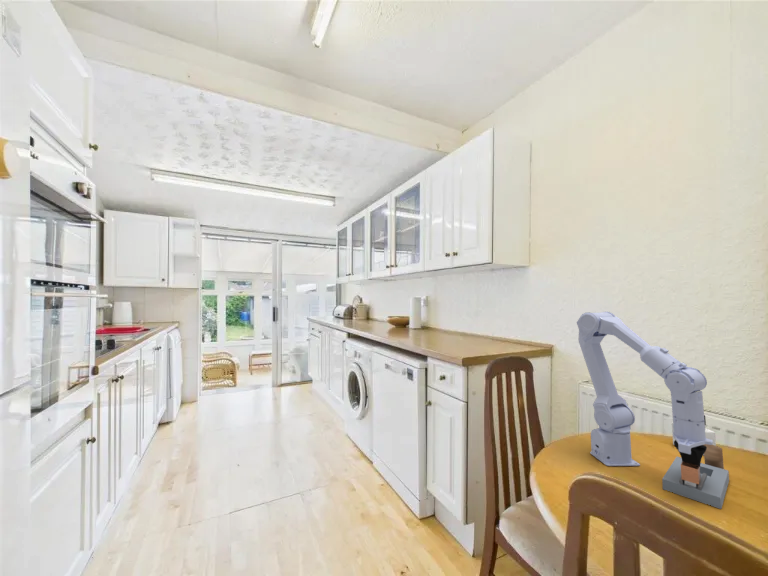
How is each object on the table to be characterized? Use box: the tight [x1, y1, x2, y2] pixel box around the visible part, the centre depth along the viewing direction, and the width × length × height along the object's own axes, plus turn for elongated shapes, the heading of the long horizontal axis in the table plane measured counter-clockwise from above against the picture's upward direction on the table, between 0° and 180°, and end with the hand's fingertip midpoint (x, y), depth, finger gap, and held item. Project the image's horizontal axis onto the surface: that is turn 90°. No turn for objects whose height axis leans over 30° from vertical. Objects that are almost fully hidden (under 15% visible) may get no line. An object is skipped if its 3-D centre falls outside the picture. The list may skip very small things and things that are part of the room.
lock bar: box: [681, 461, 701, 488], centre depth 77 cm, size 7×3×4 cm, turn 128°
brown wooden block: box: [703, 444, 725, 469], centre depth 86 cm, size 4×4×6 cm
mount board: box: [661, 456, 730, 510], centre depth 80 cm, size 18×10×3 cm, turn 128°
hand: (691, 474), depth 77 cm, fingers closed, pressing on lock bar
